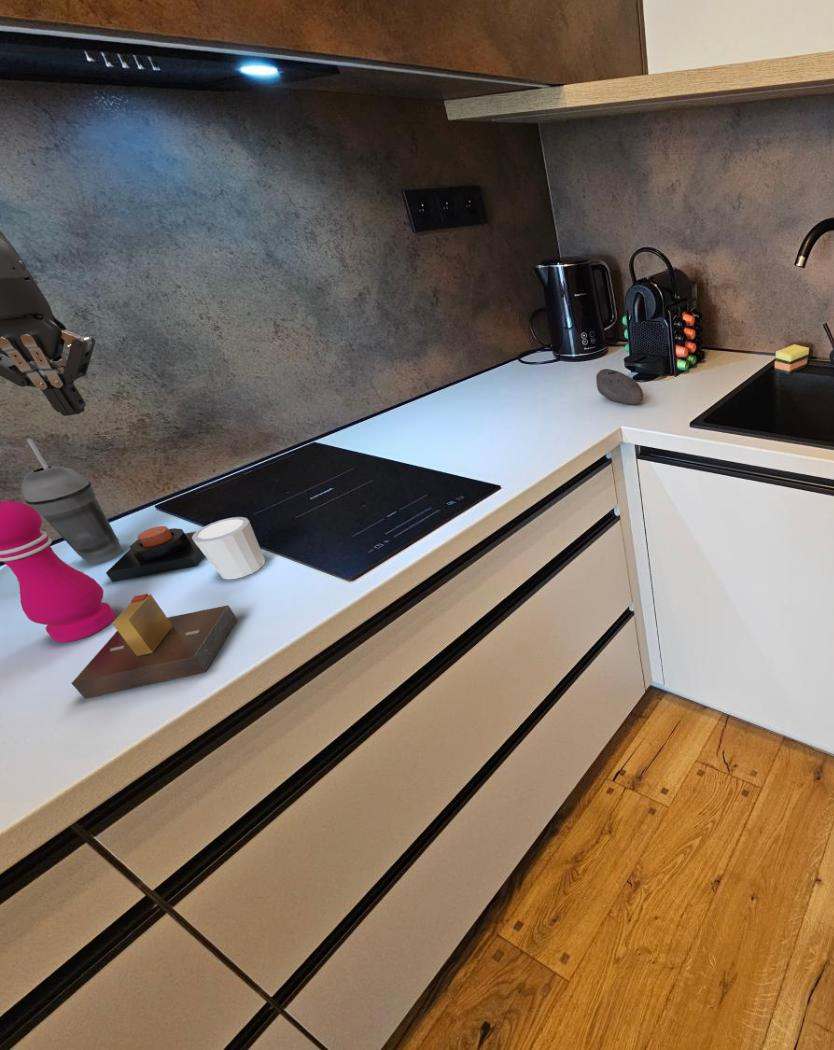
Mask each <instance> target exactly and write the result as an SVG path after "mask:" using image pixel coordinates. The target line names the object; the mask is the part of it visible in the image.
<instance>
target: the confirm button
mask: <svg viewBox="0 0 834 1050" xmlns="http://www.w3.org/2000/svg"><path fill="white" fill-rule="evenodd" d="M168 529H169V528H168V527H167V526H166V525H158V526H154V527H150V528H148V529H145V530H143V531H141V532H140V533H139V534H138V535H137V540H138V539H139V540H140V542H141V543H142V545H143V546H144V547H150V546H155V545H158V544H161V543H164V542H166V541H167V540H169V539H171V538H172V537H173V536H172V534H171V533H170V531H169V530H168Z"/></svg>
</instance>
